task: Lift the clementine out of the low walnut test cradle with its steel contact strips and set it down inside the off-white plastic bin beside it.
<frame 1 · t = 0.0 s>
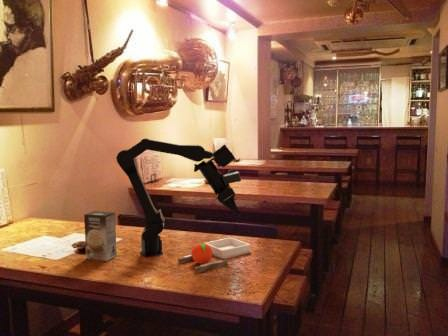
hand: (236, 210, 148), 15 cm above the table, tool tilted 35°, fingers open, 9 cm apart
coffee box: (101, 258, 143), on the table
test cradle: (202, 263, 134), on the table
bin: (226, 251, 147), on the table
clementine: (202, 264, 134), on the table
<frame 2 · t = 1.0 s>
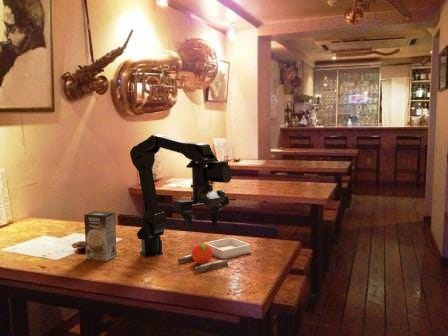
hand: (202, 228, 133), 12 cm above the table, tool pointing down, fingers open, 9 cm apart
nothing on the table moved.
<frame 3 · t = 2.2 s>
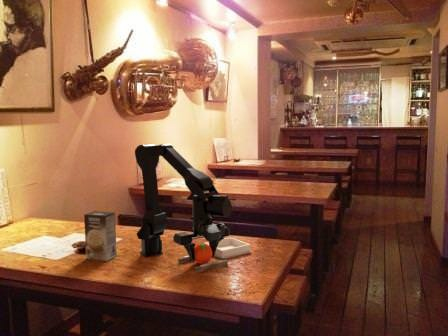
hand: (202, 260, 134), 1 cm above the table, tool pointing down, fingers closed on clementine, 7 cm apart
clementine: (202, 264, 134), on the table, touching gripper
everything else where it was.
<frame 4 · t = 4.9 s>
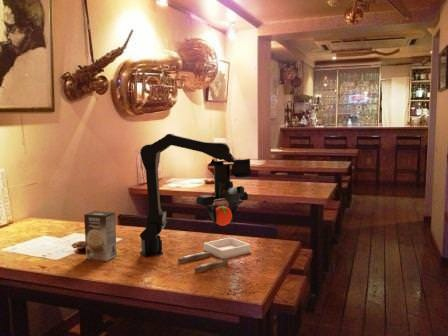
hand: (223, 221, 144), 12 cm above the table, tool pointing down, fingers closed on clementine, 7 cm apart
clementine: (223, 226, 144), point 10 cm above the table, touching gripper
everything else where it was.
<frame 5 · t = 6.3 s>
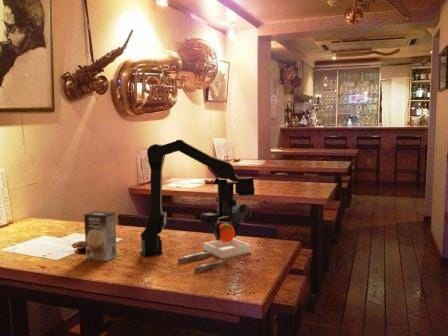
hand: (226, 238, 146), 5 cm above the table, tool pointing down, fingers closed on clementine, 7 cm apart
clementine: (226, 243, 146), point 3 cm above the table, touching gripper
everything else where it was.
when the fingers open (4 cm above the table, at t = 7.1 s): clementine drops 2 cm, resting on bin.
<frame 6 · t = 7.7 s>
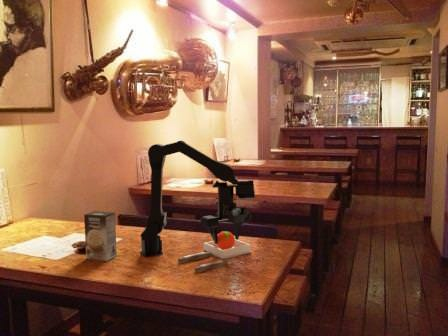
hand: (226, 241, 147), 4 cm above the table, tool pointing down, fingers open, 9 cm apart
clementine: (225, 250, 147), resting on bin
everything else where it was.
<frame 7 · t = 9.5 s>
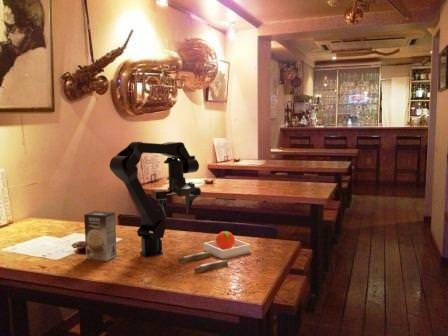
hand: (177, 214, 156), 12 cm above the table, tool pointing down, fingers open, 9 cm apart
nothing on the table moved.
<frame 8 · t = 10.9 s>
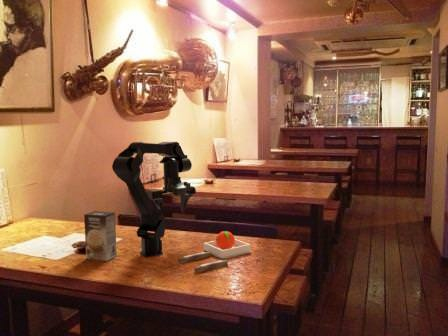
hand: (172, 214, 157), 12 cm above the table, tool pointing down, fingers open, 9 cm apart
nothing on the table moved.
at the end: clementine inside the target area on the bin (0.5 cm from its centre), point 0.4 cm above the bin's base; the gripper is holding nothing; clementine moved 14.8 cm from its start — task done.
